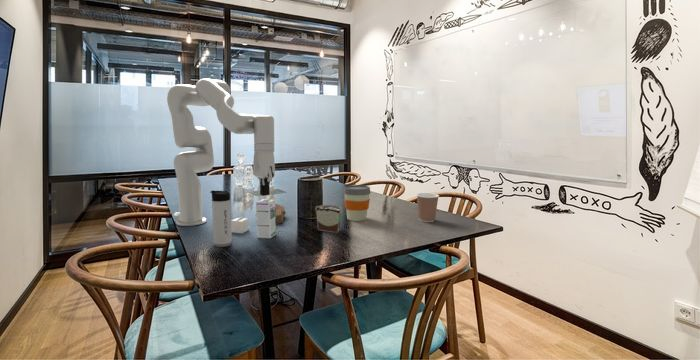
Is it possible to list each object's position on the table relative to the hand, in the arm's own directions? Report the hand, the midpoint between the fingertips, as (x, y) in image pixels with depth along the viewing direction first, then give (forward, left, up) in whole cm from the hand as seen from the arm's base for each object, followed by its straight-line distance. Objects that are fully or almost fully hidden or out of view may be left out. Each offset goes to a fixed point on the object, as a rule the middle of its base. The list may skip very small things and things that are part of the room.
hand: (264, 194), depth 148 cm
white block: (-14, +3, -17) cm, 22 cm away
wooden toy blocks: (-11, +24, -17) cm, 31 cm away
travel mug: (-10, -15, -17) cm, 24 cm away
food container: (+21, +17, -17) cm, 32 cm away
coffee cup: (+58, +46, -17) cm, 76 cm away
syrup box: (0, 0, -17) cm, 17 cm away
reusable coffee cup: (+26, +39, -17) cm, 50 cm away
